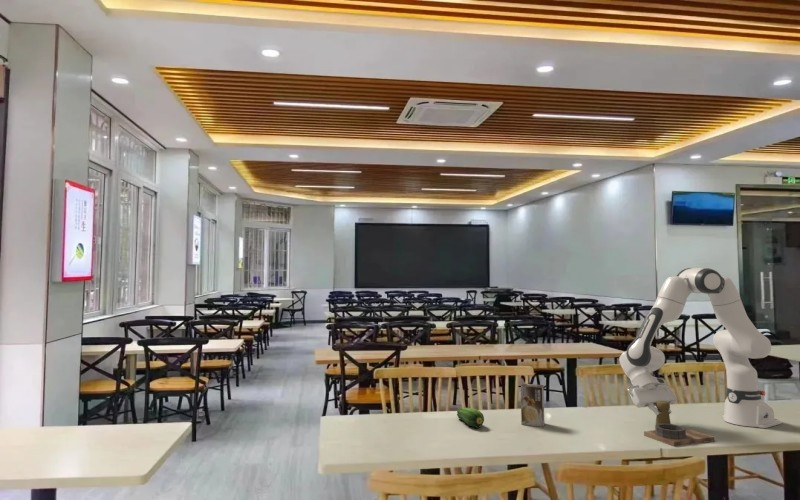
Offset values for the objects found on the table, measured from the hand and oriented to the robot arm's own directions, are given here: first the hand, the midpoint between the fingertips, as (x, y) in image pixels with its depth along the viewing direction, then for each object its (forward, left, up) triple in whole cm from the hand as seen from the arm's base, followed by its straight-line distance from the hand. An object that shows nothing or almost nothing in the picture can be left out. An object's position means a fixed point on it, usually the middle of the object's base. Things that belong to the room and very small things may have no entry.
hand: (664, 413), depth 213 cm
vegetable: (+72, -33, -6) cm, 80 cm away
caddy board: (+5, +11, -6) cm, 14 cm away
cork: (0, -1, -6) cm, 6 cm away
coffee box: (+47, -24, -6) cm, 53 cm away
